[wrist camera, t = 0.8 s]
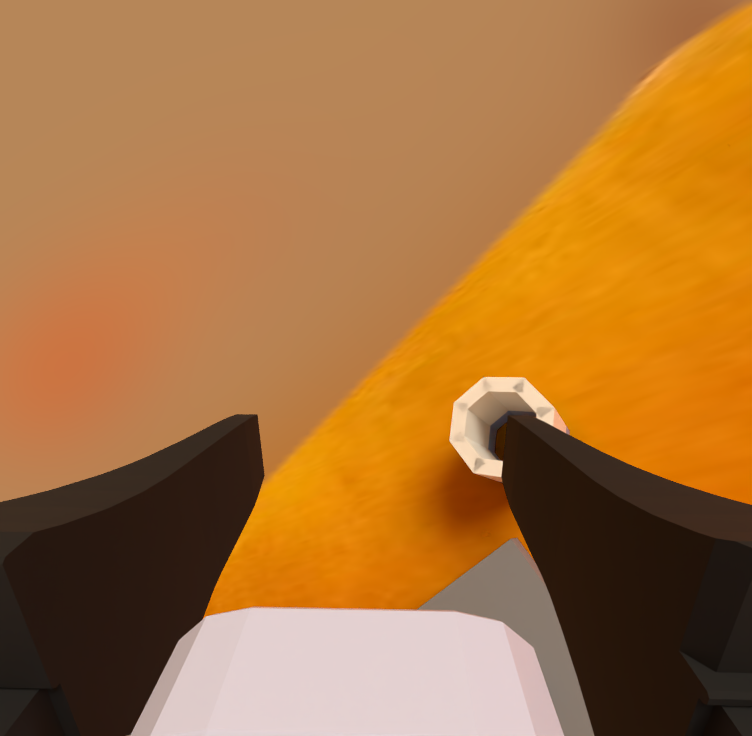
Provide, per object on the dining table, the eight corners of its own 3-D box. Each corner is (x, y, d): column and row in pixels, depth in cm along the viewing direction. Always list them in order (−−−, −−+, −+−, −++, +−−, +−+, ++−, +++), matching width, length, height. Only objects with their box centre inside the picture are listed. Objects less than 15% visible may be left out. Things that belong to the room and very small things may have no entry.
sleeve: (588, 450, 24) (577, 431, 19) (519, 504, 25) (492, 498, 20) (528, 388, 27) (505, 358, 22) (468, 438, 28) (433, 420, 23)
